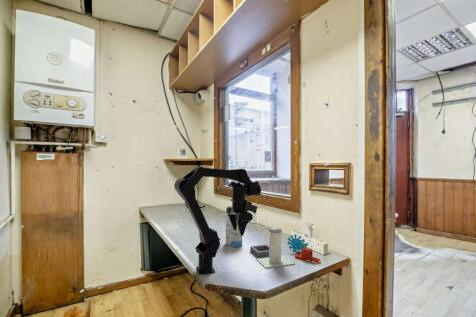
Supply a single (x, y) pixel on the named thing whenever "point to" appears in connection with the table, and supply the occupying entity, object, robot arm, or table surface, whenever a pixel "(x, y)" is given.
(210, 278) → the table surface
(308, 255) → the bracket
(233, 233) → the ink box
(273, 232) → the cylinder
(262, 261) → the pad
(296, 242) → the gear
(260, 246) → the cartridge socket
